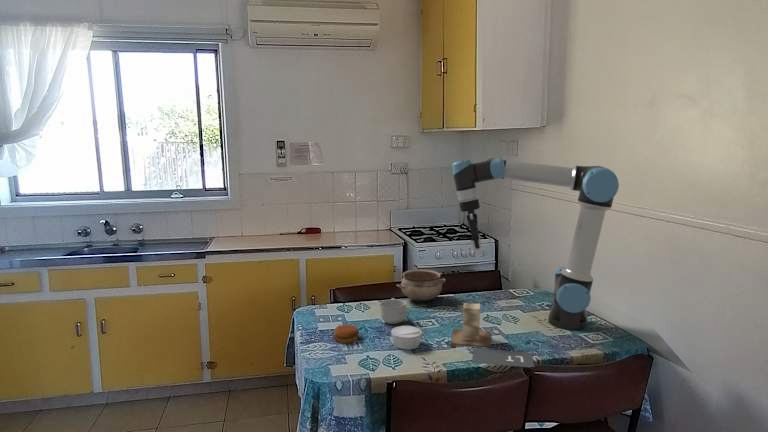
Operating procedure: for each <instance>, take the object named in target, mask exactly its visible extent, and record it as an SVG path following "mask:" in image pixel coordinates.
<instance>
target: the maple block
mask: <svg viewBox="0 0 768 432" xmlns="http://www.w3.org/2000/svg"><path fill="white" fill-rule="evenodd" d="M462 308H463V309H462V330H463V333H462V340H475V341H479V331H480V323H481V321H480V319H481V317H480V315H481V303H470V302H463V307H462Z"/></svg>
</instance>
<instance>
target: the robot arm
mask: <svg viewBox="0 0 768 432" xmlns="http://www.w3.org/2000/svg"><path fill="white" fill-rule="evenodd" d="M451 167H452V176H453V180H454V185H455V189H456V193H455V196H456V197H457V199H458V201H459V203H458V204H459V208H460V212H462V213H463V212H465V213H466V212H467V215H466V220H467V223H468V226H469V228H470V234H471V238H470V242H472V245H473V249H474V255H475V258H481V257H483V256H484V255H483V247H482V242H481V235H480V234H481V230H479V228H478V213H476V212H475V211H476V210H478V209H480V208H481V207H480V206H481V204H480V201H479V199H478V197H479V196H478V195H479V194H478V190H477V186H476V184H477V183H483V182H488V181H493V180H498V179H499V180H500V179H501V180H509V181H510V180H511V181H518V182H527V183H533V184H542V185H549V186H557V187H566V188H569V190H571V191H576V192H579V193H578V198H577V202H578V204H579V205H580V208H579V213H578V217H577V221H576V226H575V230H574V234H573V237H572V243H571V246H570V251H569V256H568V260H567V264H566V266H560V267H556V268H555V272H554V287H553V288H554V290H553V303H552V305H551V308H550V311H549V314H548V317H547V322H548V323H549V324H550V325H551V326H553V327H556V328H559V329H563V330H571V331H572V330H573V331H576V330H579V331H580V330H584V329H586V328H587V327H588V325H589V324H588V323H589V320H588V316H587V313H586V309H588V307H589V306H590V303H591V300H592V299H591V297H592V295H591V290H592V287H593V282H594V277H593V276H592V275H591V273H592V272H591V271H592V268H593V265H594V260H595V256H596V251H597V248H598V243H599V239H600V236H601V231H602V227H603V222H604V219H605V216H606V215H605V214H606V212H607V211H608V210H610V209H612V206H613V203H614V197H615V196H616V195H617V193H618V192H619V187H620V186H619V185H620V184H619V183H620V182H619V178H618V176H617V175H616V173H615V172H614V171H612V170H611V169H610V168H606V167H605V166H601V165H591V166H588V165H587V166H586V165H574V166H572V167H568V166H559V165H550V164H543V163H532V162H525V161H518V160H517V161H515V160H508V159H507V160H505V159H503V158H501V157H500V158H492V157H491V158H487V159H486V160H484V161H479V162H474V163H473V162H472V161H471V159H469V158H468V159H464V160H460V161H459V160H458V161H455V162H453V163H452V164H451Z"/></svg>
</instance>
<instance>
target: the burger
mask: <svg viewBox="0 0 768 432" xmlns="http://www.w3.org/2000/svg"><path fill="white" fill-rule="evenodd" d="M333 332H334V334H333V339H334V340H335V341H336V342H338V343H341V344H350V343H351V344H352V343H355V342H356V341H358V338H359V334H360V330H359V328H358V327H357V326H356V325H354V324H341V325H340V324H339V325H338V326H336V327H335V329H334V331H333Z"/></svg>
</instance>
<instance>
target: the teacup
mask: <svg viewBox="0 0 768 432" xmlns="http://www.w3.org/2000/svg"><path fill="white" fill-rule="evenodd" d="M379 308H380V309H379V311H380V317H381V319H382V321H384V322H385V323H387V324H389V325H396V324H397V325H398V324H400V323H401V322H403V321H404V320H405V319H406V317H407V302H406V301H405V300H402V299H399V298H397V299H396V298H394V297H391V299H385V300H383V301H381V302H380V303H379Z"/></svg>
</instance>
